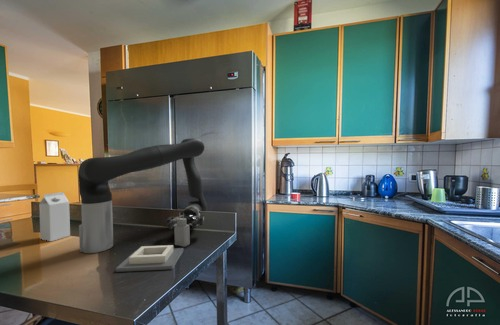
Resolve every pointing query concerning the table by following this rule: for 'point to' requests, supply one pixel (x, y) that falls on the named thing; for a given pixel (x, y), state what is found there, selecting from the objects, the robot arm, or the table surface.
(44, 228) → the milk carton
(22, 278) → the table surface
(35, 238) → the table surface
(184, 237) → the power adapter
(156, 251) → the docking plate
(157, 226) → the table surface
